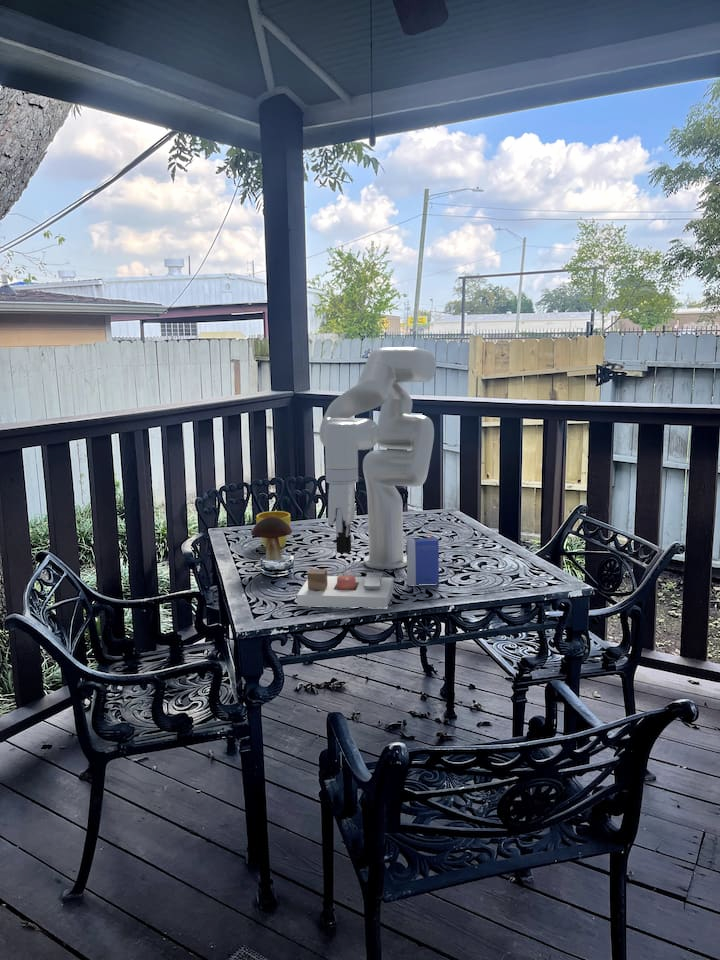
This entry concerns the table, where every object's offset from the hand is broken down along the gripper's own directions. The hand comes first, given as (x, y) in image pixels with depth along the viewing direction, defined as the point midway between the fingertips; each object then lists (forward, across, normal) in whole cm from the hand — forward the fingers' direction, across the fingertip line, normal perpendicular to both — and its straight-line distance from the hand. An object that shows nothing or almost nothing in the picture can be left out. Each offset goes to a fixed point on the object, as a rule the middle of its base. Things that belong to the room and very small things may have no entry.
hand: (343, 552), depth 154 cm
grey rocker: (+8, -1, +7) cm, 10 cm away
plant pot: (+11, -42, -29) cm, 52 cm away
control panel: (+12, -1, 0) cm, 12 cm away
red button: (+9, -1, 0) cm, 9 cm away
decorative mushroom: (+12, -20, -23) cm, 32 cm away
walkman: (+12, -12, +18) cm, 24 cm away
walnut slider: (+9, +1, -6) cm, 11 cm away
